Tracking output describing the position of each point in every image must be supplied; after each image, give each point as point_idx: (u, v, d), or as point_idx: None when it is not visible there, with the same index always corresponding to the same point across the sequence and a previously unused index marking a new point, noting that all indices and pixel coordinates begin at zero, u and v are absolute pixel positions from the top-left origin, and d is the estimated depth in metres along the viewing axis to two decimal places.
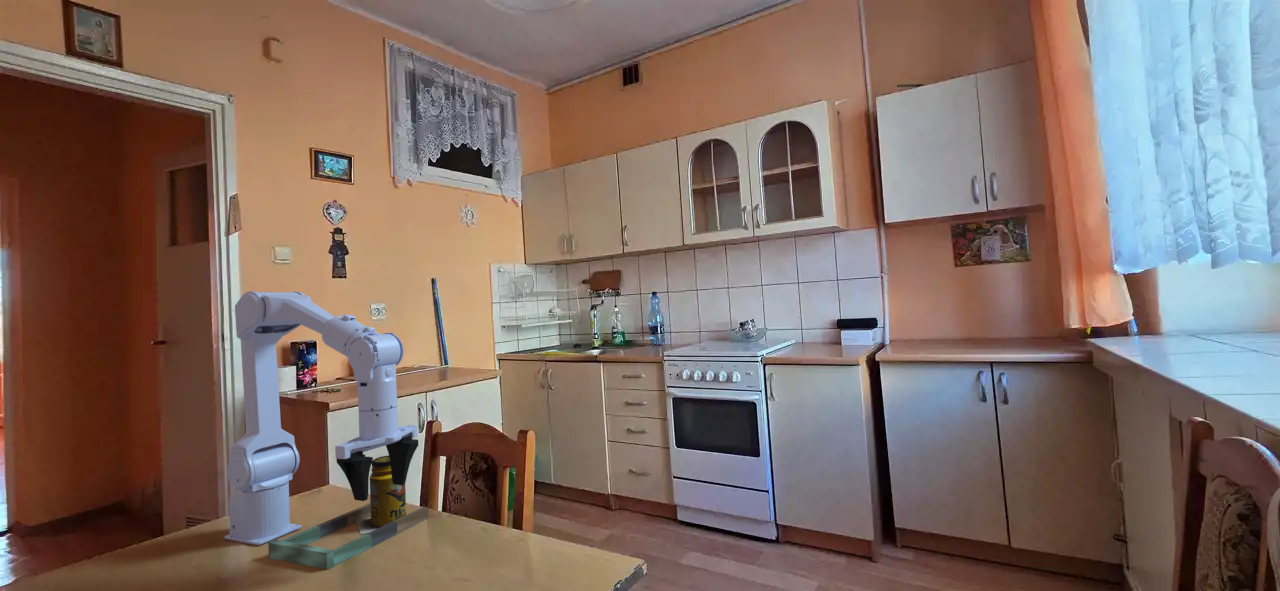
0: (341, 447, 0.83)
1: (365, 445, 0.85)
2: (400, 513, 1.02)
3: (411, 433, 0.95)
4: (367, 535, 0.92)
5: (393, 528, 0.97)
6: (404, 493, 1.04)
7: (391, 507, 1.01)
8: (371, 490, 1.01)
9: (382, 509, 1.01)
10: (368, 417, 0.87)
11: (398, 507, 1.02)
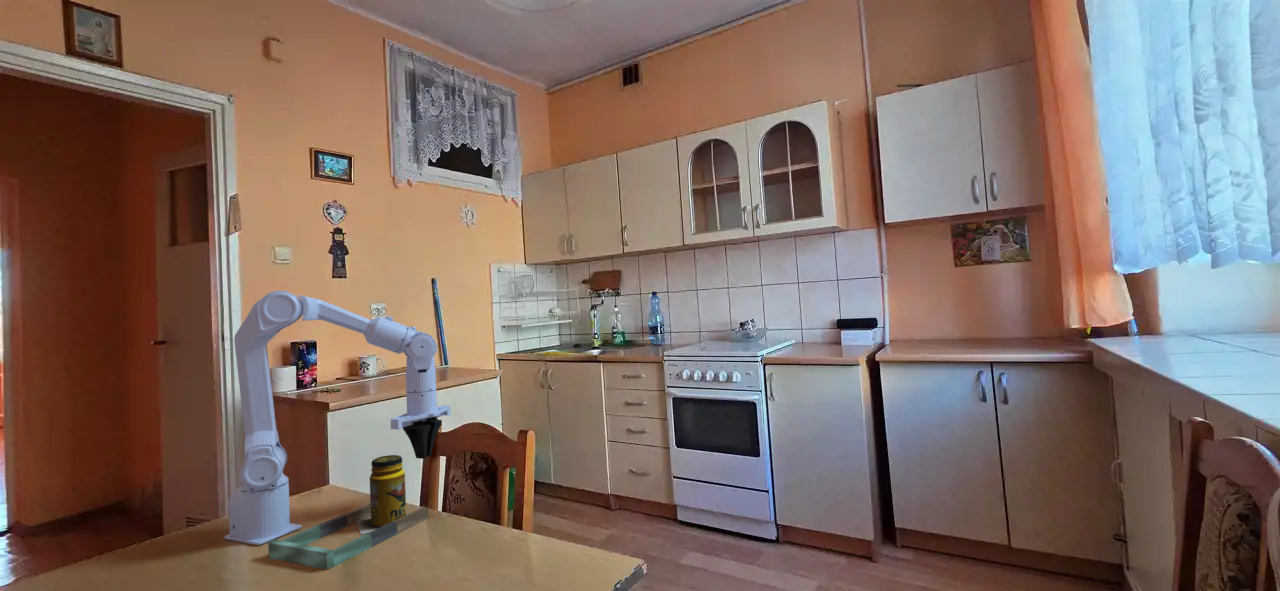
0: (395, 420, 1.06)
1: (413, 419, 1.09)
2: (400, 513, 1.02)
3: (446, 411, 1.19)
4: (367, 535, 0.92)
5: (393, 528, 0.97)
6: (404, 493, 1.04)
7: (391, 507, 1.01)
8: (371, 490, 1.01)
9: (382, 509, 1.01)
10: (414, 397, 1.10)
11: (398, 507, 1.02)
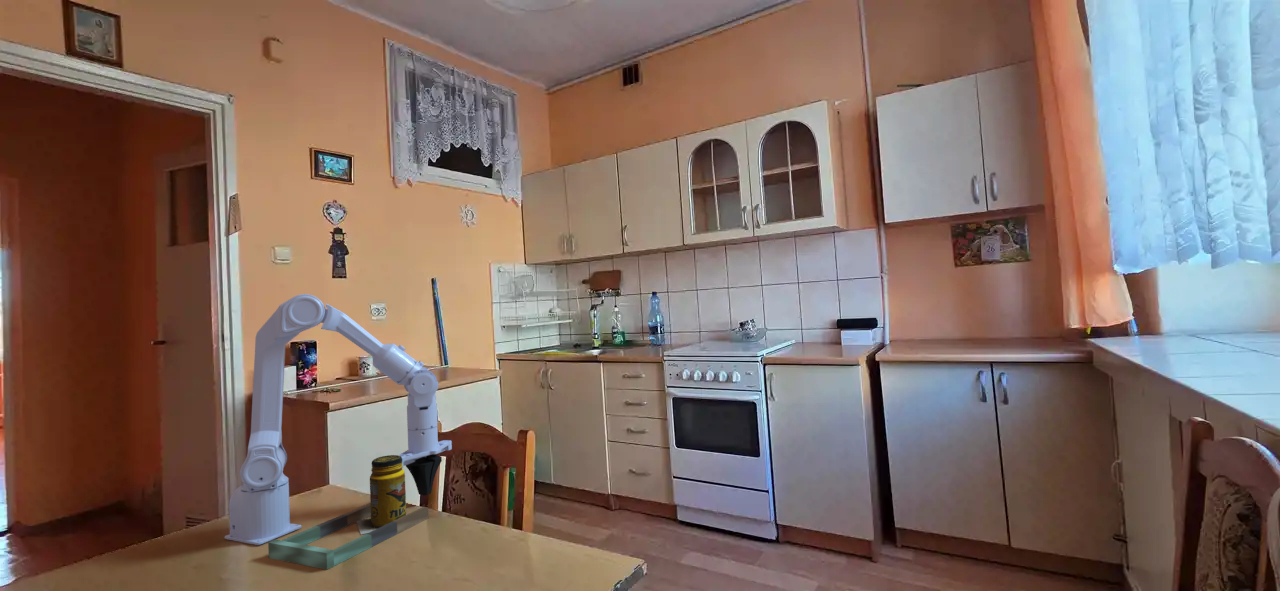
0: None
1: (414, 457, 1.09)
2: (400, 513, 1.02)
3: (447, 446, 1.18)
4: (367, 535, 0.92)
5: (393, 528, 0.97)
6: (404, 493, 1.04)
7: (391, 507, 1.01)
8: (371, 490, 1.01)
9: (382, 509, 1.01)
10: (416, 435, 1.10)
11: (398, 507, 1.02)
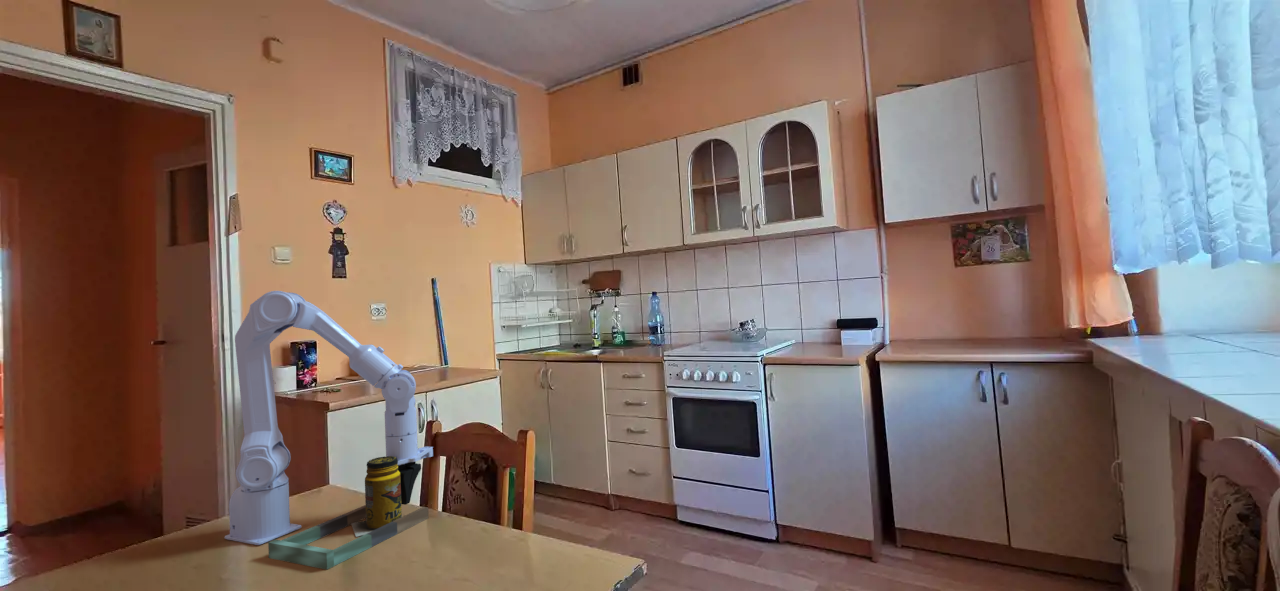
0: None
1: None
2: (396, 515, 1.01)
3: (428, 453, 1.13)
4: (367, 535, 0.92)
5: (393, 528, 0.97)
6: (399, 495, 1.03)
7: (386, 509, 1.00)
8: (366, 492, 1.00)
9: (377, 510, 1.00)
10: (394, 441, 1.05)
11: (394, 509, 1.01)
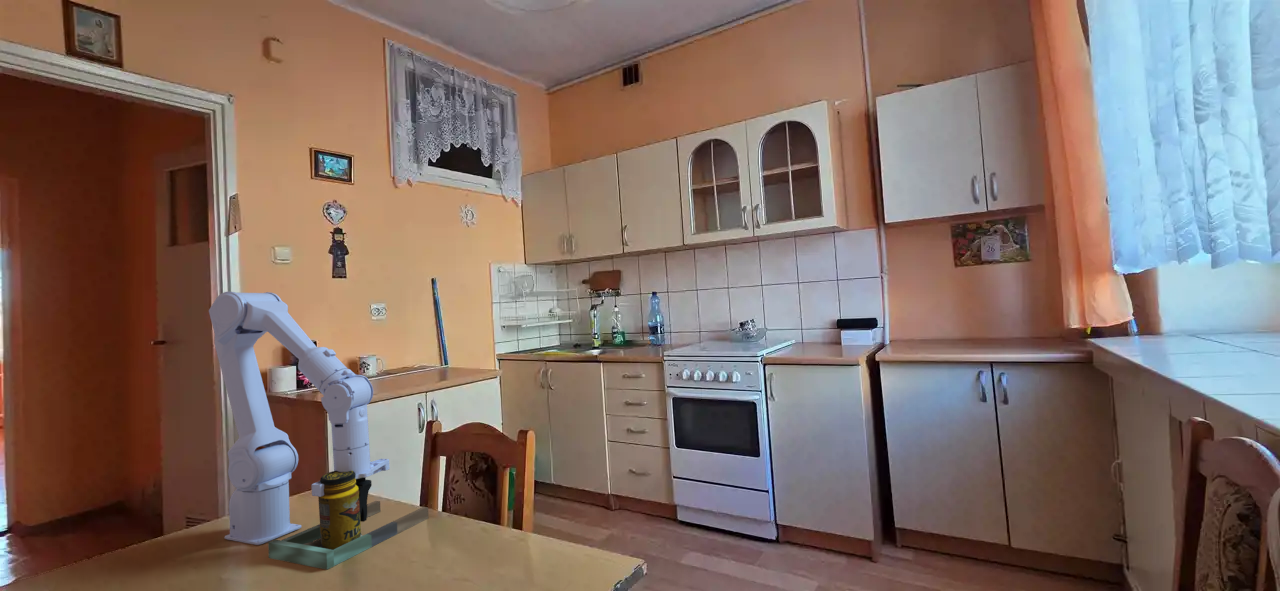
0: (317, 485, 0.91)
1: None
2: (356, 533, 0.93)
3: (383, 466, 1.03)
4: (367, 535, 0.92)
5: (393, 528, 0.97)
6: (358, 511, 0.94)
7: (345, 528, 0.91)
8: (321, 511, 0.91)
9: (335, 530, 0.91)
10: (342, 456, 0.95)
11: (353, 527, 0.93)
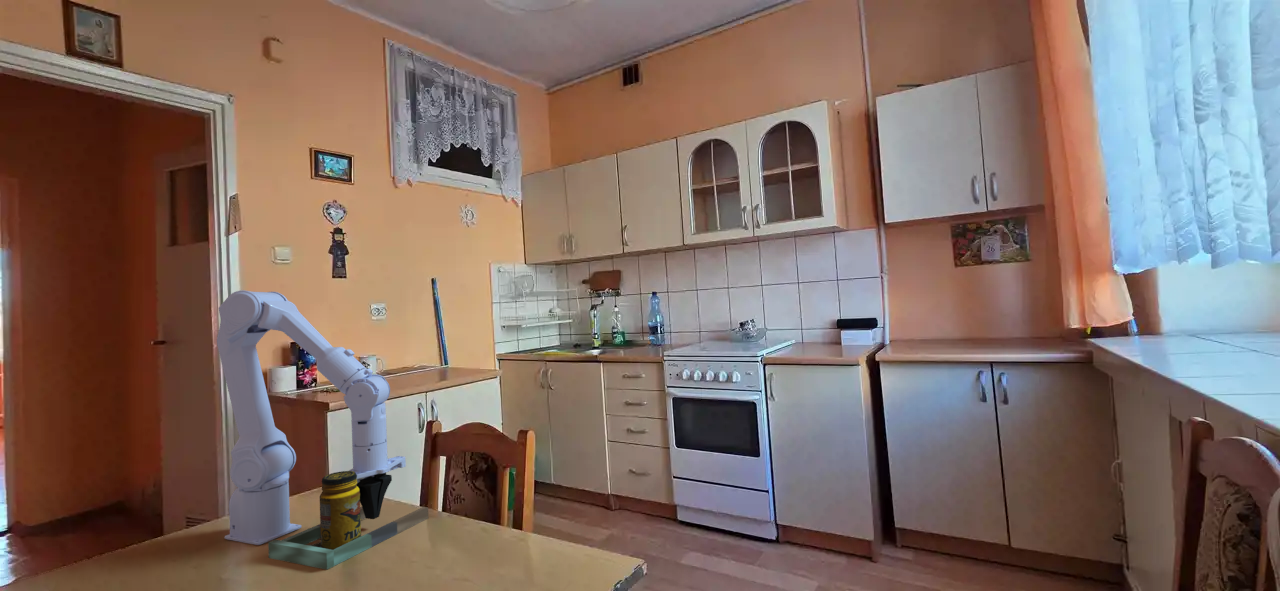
0: None
1: (358, 477, 0.96)
2: (356, 535, 0.93)
3: (400, 463, 1.06)
4: (367, 535, 0.92)
5: (393, 528, 0.97)
6: (359, 512, 0.94)
7: (345, 528, 0.92)
8: (322, 511, 0.91)
9: (336, 531, 0.91)
10: (360, 452, 0.98)
11: (354, 528, 0.93)
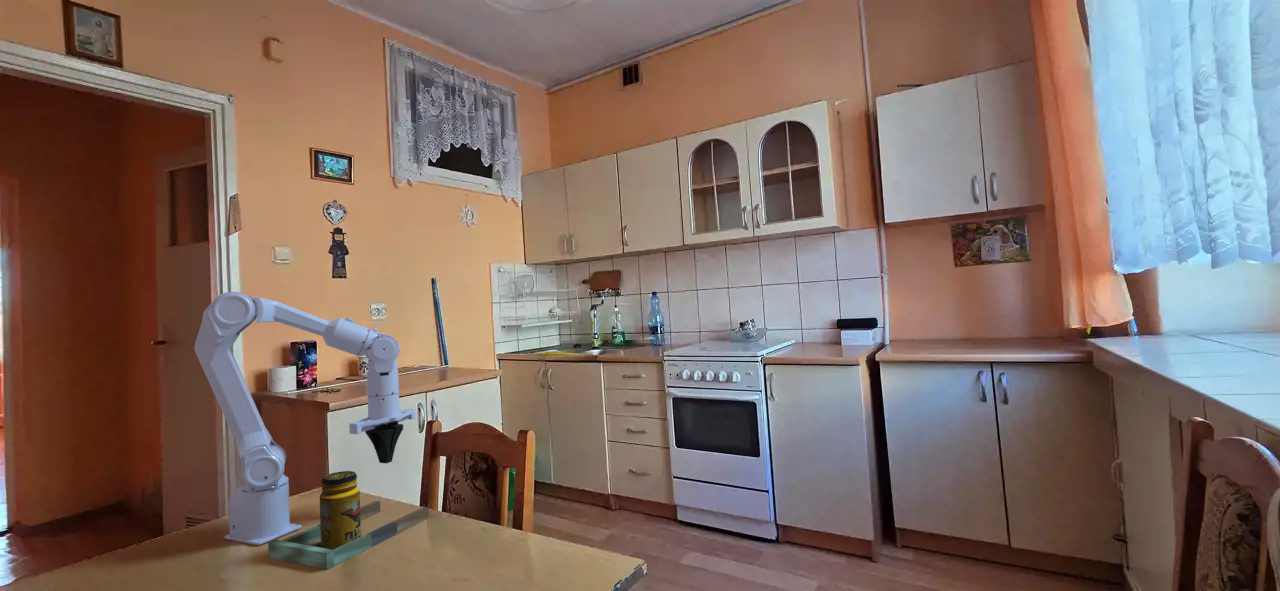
0: (354, 424, 1.04)
1: (373, 423, 1.06)
2: (356, 535, 0.93)
3: (410, 415, 1.16)
4: (367, 535, 0.92)
5: (393, 528, 0.97)
6: (359, 512, 0.94)
7: (345, 528, 0.92)
8: (322, 511, 0.91)
9: (336, 531, 0.91)
10: (375, 401, 1.08)
11: (354, 528, 0.93)
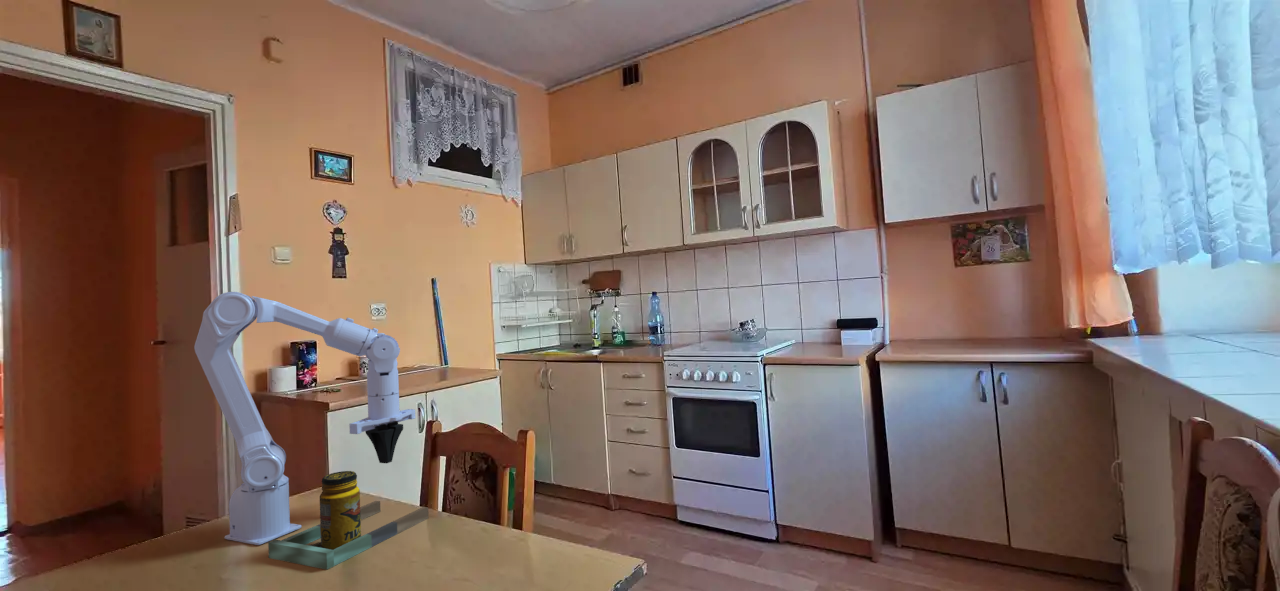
0: (354, 424, 1.04)
1: (373, 423, 1.06)
2: (356, 535, 0.93)
3: (410, 415, 1.16)
4: (367, 535, 0.92)
5: (393, 528, 0.97)
6: (359, 512, 0.94)
7: (345, 528, 0.92)
8: (322, 511, 0.91)
9: (336, 531, 0.91)
10: (375, 401, 1.08)
11: (354, 528, 0.93)
